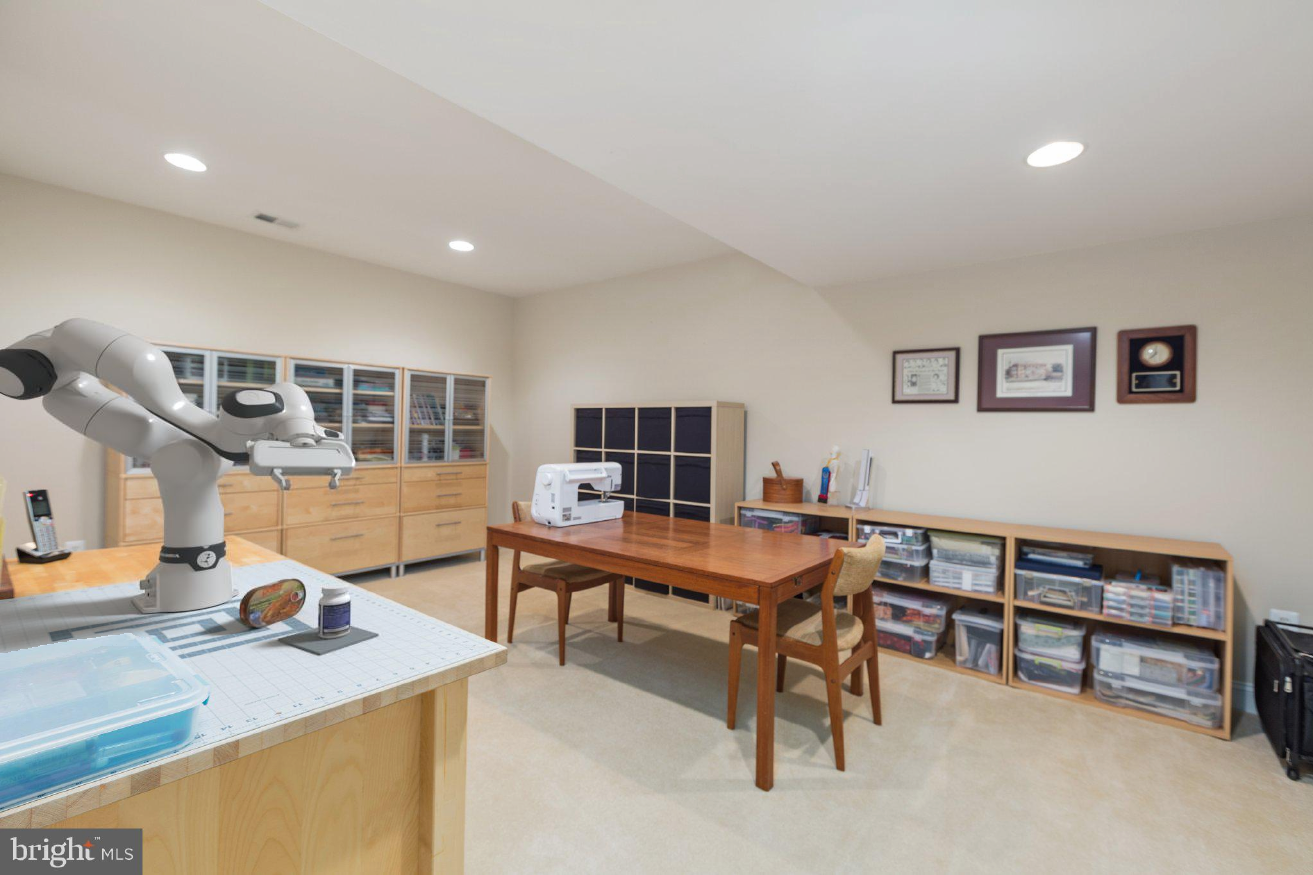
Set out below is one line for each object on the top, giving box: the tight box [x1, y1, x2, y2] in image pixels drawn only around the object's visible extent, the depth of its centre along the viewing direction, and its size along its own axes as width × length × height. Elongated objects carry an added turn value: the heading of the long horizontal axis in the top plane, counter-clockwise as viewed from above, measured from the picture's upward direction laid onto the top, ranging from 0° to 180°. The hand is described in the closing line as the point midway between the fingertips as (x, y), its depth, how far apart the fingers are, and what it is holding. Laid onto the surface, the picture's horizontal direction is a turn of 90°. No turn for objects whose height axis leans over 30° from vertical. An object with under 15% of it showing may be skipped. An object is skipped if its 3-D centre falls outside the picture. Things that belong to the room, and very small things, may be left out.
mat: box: [277, 625, 379, 656], centre depth 115 cm, size 14×12×1 cm
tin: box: [238, 578, 307, 629], centre depth 124 cm, size 15×3×8 cm, turn 168°
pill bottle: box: [317, 582, 352, 639], centre depth 116 cm, size 6×6×10 cm
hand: (310, 488), depth 123 cm, fingers open, 8 cm apart
